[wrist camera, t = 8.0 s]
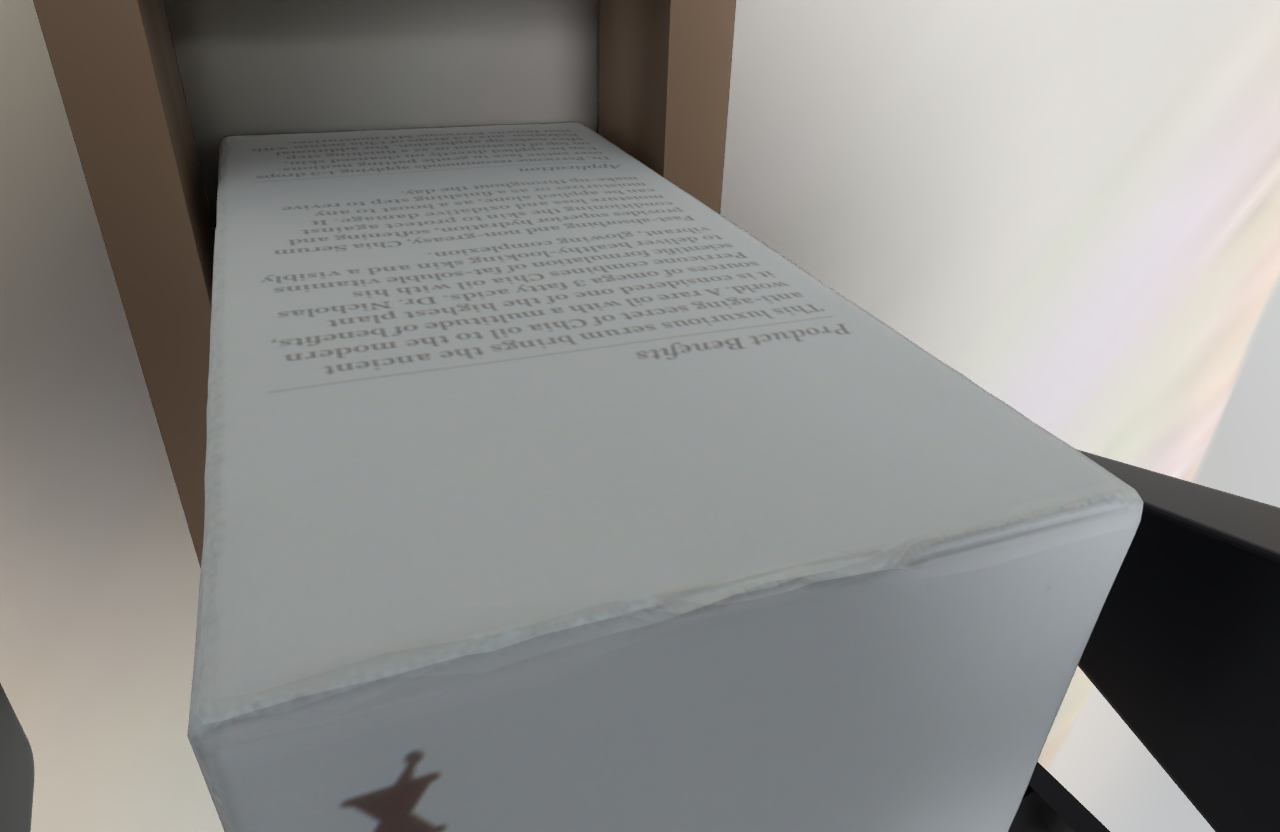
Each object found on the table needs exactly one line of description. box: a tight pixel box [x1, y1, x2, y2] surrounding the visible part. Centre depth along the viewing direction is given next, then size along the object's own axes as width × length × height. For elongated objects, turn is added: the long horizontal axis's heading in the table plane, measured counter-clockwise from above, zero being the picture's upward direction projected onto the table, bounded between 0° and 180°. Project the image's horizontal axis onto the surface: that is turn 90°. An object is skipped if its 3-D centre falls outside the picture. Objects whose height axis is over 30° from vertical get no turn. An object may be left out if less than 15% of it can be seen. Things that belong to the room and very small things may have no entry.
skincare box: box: [188, 122, 1143, 832], centre depth 10 cm, size 6×4×12 cm
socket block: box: [33, 0, 736, 567], centre depth 14 cm, size 8×10×3 cm
